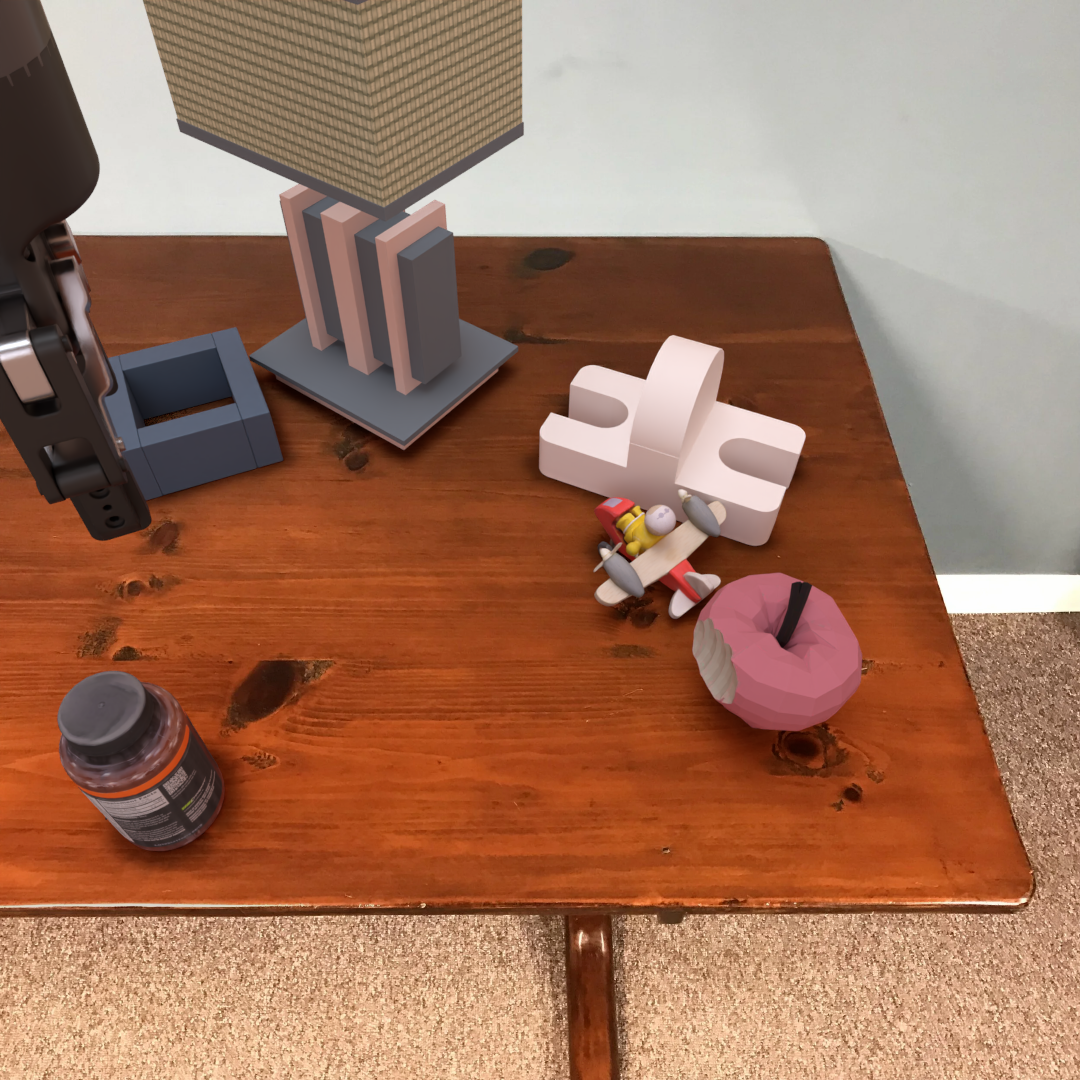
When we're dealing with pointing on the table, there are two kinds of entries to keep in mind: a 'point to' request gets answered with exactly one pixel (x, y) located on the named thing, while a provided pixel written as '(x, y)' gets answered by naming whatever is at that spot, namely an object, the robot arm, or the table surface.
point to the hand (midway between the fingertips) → (108, 457)
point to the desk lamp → (359, 177)
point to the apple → (777, 652)
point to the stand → (199, 439)
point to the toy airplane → (656, 550)
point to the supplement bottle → (139, 760)
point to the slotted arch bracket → (673, 441)
